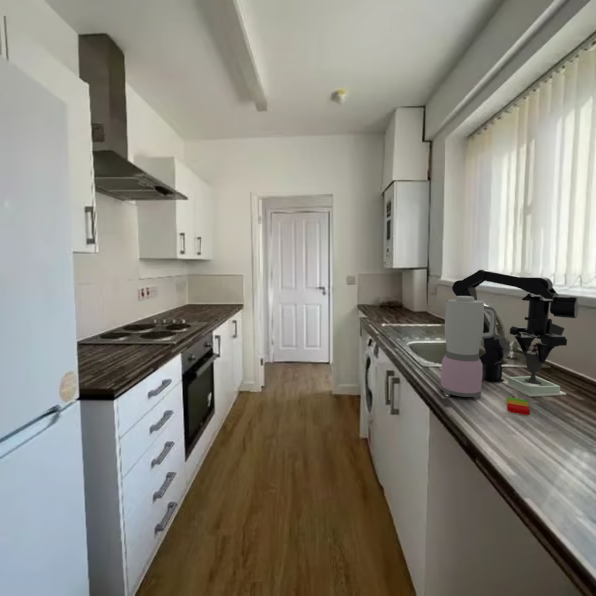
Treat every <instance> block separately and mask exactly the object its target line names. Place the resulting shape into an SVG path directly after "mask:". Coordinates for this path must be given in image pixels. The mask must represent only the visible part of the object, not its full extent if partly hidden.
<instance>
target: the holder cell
mask: <svg viewBox="0 0 596 596" xmlns="http://www.w3.org/2000/svg"><path fill="white" fill-rule="evenodd" d="M530 377H531V375H527V376H524V375H523V376H508V377H507V381H505V380H504V381H501V382H502V383H501V384H503V385H506V386H508V387H509V388H511V389H514V390H516V391H518V392H519V393H522V394H524V395H526V396H527V397H551V396H567V393H566V392H565V391H562V390H561V386H560V385H559V384H556V383H553V382H551V381H548V380H546V379H544V378H542V377H540V376H539V377H538V376H537V375H535V377H536V380H538V381H540V382H541V384H531V383H528V382H525V381H524V380H525V379H529V378H530Z"/></svg>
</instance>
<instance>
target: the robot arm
mask: <svg viewBox="0 0 596 596" xmlns="http://www.w3.org/2000/svg"><path fill="white" fill-rule="evenodd" d="M484 282H490V283H493V284H499V285H504V286H509V287H514V288H517V289H520V290H522V291H523V292H527V294H526V295H525V296H523V297H522V298H521V300H522V301H528V309H527V311H528V312H527V316H524V320H525V321H526V322H527V323H526V326H525V325H513V326H511V327H509V335H513V336H514V338H515V340H516V341H517V343H518V345H519V347H520V349H521V350H522V353H523V355H524V357H525V358H526V354H525V353H524V352H523V351H526V348H525V345H526V346H527V347H530V346H531V345H532V342H533V341H534V340H535V339H538V340H540V342H536V343H537V348H538V354H539V360H540V363H542V364H544V363H546V360H547V358H548V357H549V355H550V353H551V352H552V350H553V349H554V348H556V347H560V346H561V347H563V346H567V345H568V338H567V337H566V336H564V335H563V333H564V331H565V327H563V326H560V325H558V324H556V323H555V324H554V323H553V320H552V318H549V315H550V313H551V315H553V316H554V317H557V318H558V317H559V318H566V319H567V318H568V319H577V317H578V314H579V308H580V307H579V302H578V296H560V295H559V294H558V293H557V291H556V290H555V289H554V287H553V286H554V284H553V282H552V280H551V279H550V278H548V277H547V276H546V277H545V276H521V275H520V276H519V275H513V274H508V273H502V272H497V271H492V270H488V269H479V270H477V271H476V272H474V273H473V274H471V275H469V276H466V277H465V278H463V279H460V280H456V281H455V282H454V283H453V284H452V287H451V290H452V292H453V293H454V295H455V296H456V297H457V296H471V297H474V300H478V297H477V296H478V294H477V290H476V288H477V287H478V286H480V285H482V284H483V283H484ZM549 312H550V313H549ZM489 328H490V320H489V319H488V317H487V316H486V313H485V312H484V326H483V333H488V332H489ZM482 341H483V348H484V351H485V353H483V354H482V355H480V356H479V358H480V360H481V363H482V370H483V371H485V372H486V378H485V379H482V380H483V381H485V382H504V381H505V379H504V378H503V366H502V365H503V363H502V362H503V360H504V359H506V358H507V357H509V354H510V344H508V342H507V341H506V337H505V336H501V337H500V336H499V335H497V334H496V332H495V335H494V336H493V337H491V338H484V339H482Z"/></svg>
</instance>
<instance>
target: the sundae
mask: <svg viewBox="0 0 596 596" xmlns="http://www.w3.org/2000/svg"><path fill="white" fill-rule="evenodd" d="M537 343H538V342H535V343H534V344H531V346H530V347H527V346H526V345H525V348H526V351H522V353H523V352H524V353H525V354H526V357H525V361H526V363H525V364H526V368H527V369H528V370H529V371H530V373H531V374H530V376H531V377H530V378H529V379H525V380H524V381H525V382H528V383H531V384H541V382H540V381H538V380H536V377H535V376H536V373H537V372H539V371H541V369H542V367H543V363H540V360H539V354H538V348H537ZM524 353H523V354H524Z"/></svg>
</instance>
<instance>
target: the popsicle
mask: <svg viewBox="0 0 596 596" xmlns="http://www.w3.org/2000/svg"><path fill="white" fill-rule="evenodd" d="M529 405H530V404H529V401H528V400H527V399H521V398H519V395H518V394H514V397H506V410H507V412H509V413H511V414H512V413H513V414H517V413H518V415H523V414H524V415H523V416H530V414H531V410H530V406H529Z"/></svg>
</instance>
